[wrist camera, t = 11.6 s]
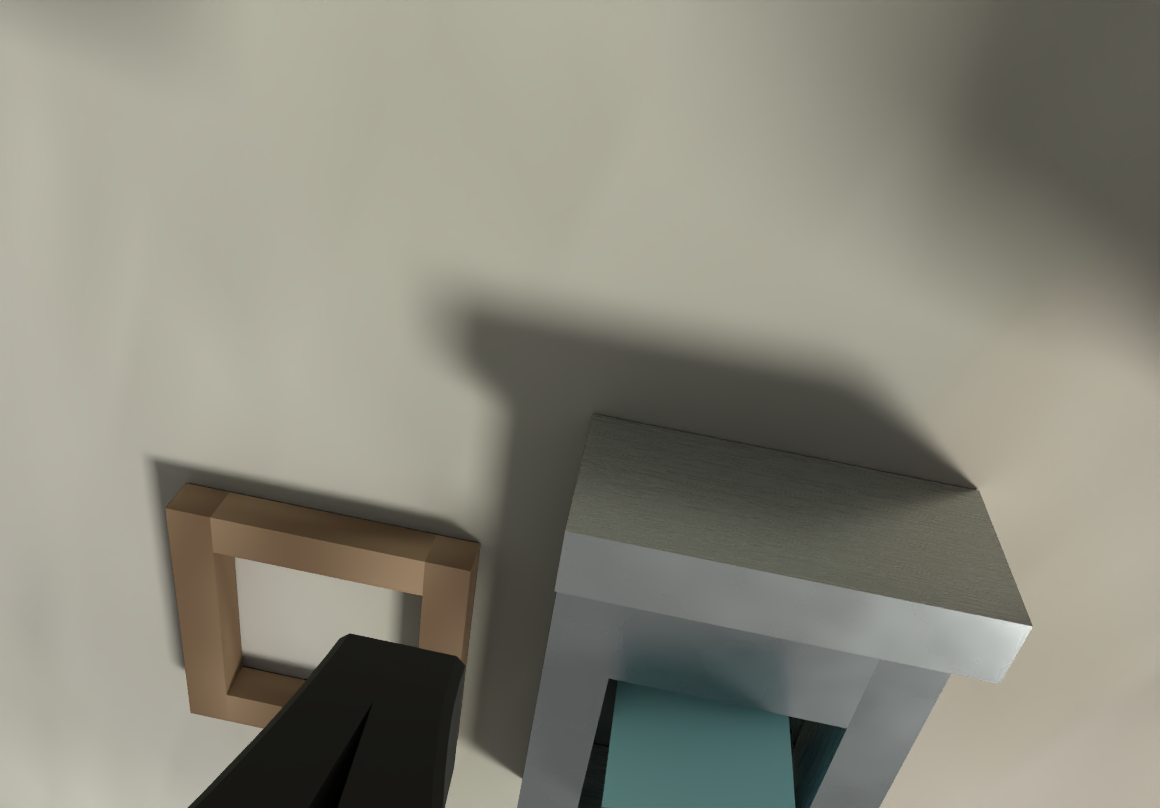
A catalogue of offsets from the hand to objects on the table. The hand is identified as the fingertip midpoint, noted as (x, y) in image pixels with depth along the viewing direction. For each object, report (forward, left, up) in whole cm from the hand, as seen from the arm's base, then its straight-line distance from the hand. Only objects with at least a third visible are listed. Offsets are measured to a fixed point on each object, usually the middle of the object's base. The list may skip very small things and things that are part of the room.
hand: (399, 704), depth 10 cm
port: (-6, +9, -10) cm, 14 cm away
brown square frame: (+4, +10, -10) cm, 15 cm away
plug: (-6, +10, -10) cm, 15 cm away
